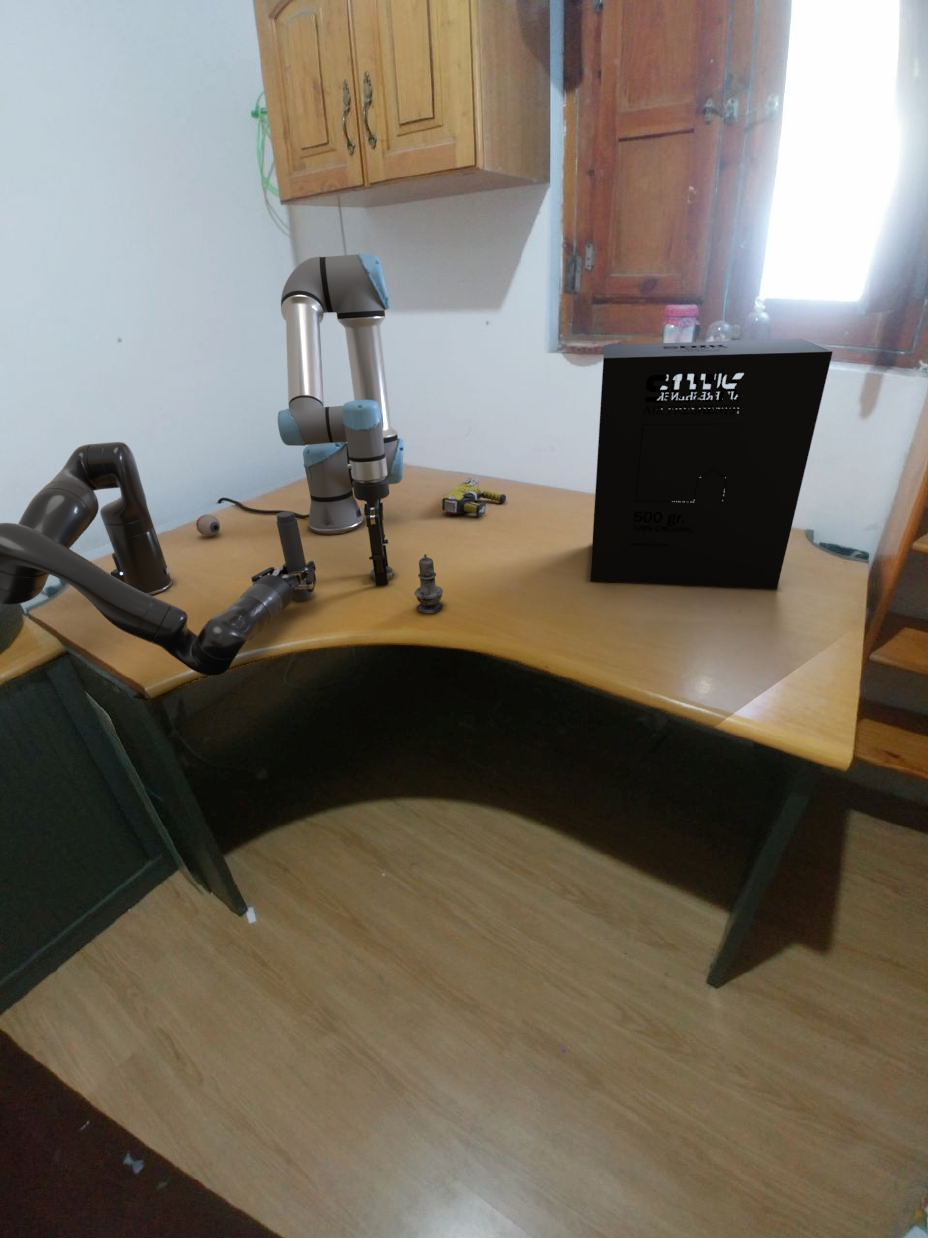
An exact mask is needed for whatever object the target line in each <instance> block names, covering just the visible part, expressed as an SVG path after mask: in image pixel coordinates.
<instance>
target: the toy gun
mask: <svg viewBox="0 0 928 1238" xmlns="http://www.w3.org/2000/svg"><path fill="white" fill-rule="evenodd" d="M477 485H479V479H478V478H474V479H473V477H469V478H467V480H466V481H464V482H462V483H460V484H459V485H458V486H456V488H454V489H453V490H451V491H450V492H449V493H448V494H446V495H445V496H444V497H443V498H442V499H441V510H442V511H443V512H444V513H446V514H448V515H453V514H457V515H458V514H462V513H471V514H475V515H476V518H480V517H482V516H483V515H485V514H486V504H487V503H486V502H484V501H482V502H480V501H479V500H480V499H481V498H483V499H485V500H486V499H487V500H491V501H494V502H498V503H501V504H503V503H505V502H506V500H507V495H505V494H504V493H498V492H497V493H496V492H492V491H488V490H483V491H482V492H481V490H480V488H479V486H477Z"/></svg>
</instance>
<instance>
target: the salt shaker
mask: <svg viewBox="0 0 928 1238" xmlns="http://www.w3.org/2000/svg"><path fill="white" fill-rule="evenodd" d="M418 569H419V572H418V575H417V577H418V578H419V583H420V586H419V587H418V588H416V589H415V590H414V594H413V595H414V597H415V598H416V600H417V602H418V603H419V604H418V605H417V610H418V612H420V613H423V614H434V613H437V612H440V611H441V610H442V609H443V608H444V607H443V606H444V605H443V603H442V602H440V601H441V599H442V596H443V594H444V589H443V588H442V587H440V586H439V585H437V584H436V576H437V572H435V567H434V560H433V559H432V558H431V557H428V554H426V553H424V555H423V557H422V558H420V559H419V560H418Z"/></svg>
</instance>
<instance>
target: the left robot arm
mask: <svg viewBox="0 0 928 1238" xmlns="http://www.w3.org/2000/svg"><path fill="white" fill-rule="evenodd" d="M141 480H142V479H141V476H140V472H139V468H138V465H137V461H136V458H135V456H134V453H133V451H132V449H131V448H130V446H128V445H127V443H125V442H123V441H111V442H99V443H88V444H83V445H81V446H78V447H77V448H76V449H75V450H74V451H73V452H72V453H71V455H70V456H69V458H68V459H67V461H66V463H65V464H64V465H63V467H62V469H61V470H60V471H59V472H58V473H57V474H56V475H55V476H54V477H53V478H52V479H51V481H49V482H48V483H47V484H45V486H43V488H41V489H40V490H39V491H38V492H37V493H36V494H35V495H34V496H33V497H32V499H31V501H30V502H29V503H28V505H27V507H26V509H25V510H24V512H23V513H22V515H21V517H20V519H19V521H18V523H16V522H15V523H14V522H0V605H7V606H9V605H10V606H12V605H19V604H24V603H27V602H30V601H31V600H33V599H35V598H36V597H37V596H39V595H40V594H42V591H43V590H44V588H45V586H46V583H47V581H48V579H49V576H53V577H55V578H57V579H59V580H61V581H63V582H65V583H67V584H68V585H69V586H71V587H73V588H74V589H75V590H77V592H79V593H80V594H81V595H82V596H83V597H85V599H87V600H88V601H89V602H90V603H91V604H92V605H93V607H94V608H95V609H96V610H97V611H98V612H99V613H100V614H101V615H102V616H103V617H104V618H105V619H106V620H107V621H109V622H110V623H111V624H112V625H113V626H114V627H115V628H117V629H118V630H121V631H123V632H125V633H126V634H128V635H130V636H134V637H136V638H138V639H140V640H143V641H146V642H147V643H152V644H153V645H155V646H158V647H160V648H161V649H162V650H164V651H165V652H167V653H168V654H169V655H170V656H172V657H173V658H175V659H176V660H177V661H179V662H180V663H182V664H183V665H185V667H187V668H189V669H190V670H192V671H194V672H196V673H198V674H200V675H205V676H221V675H222V674H224V673H226V672H227V671H228V670H229V669H230V667H231V665H232V664H233V663H234V661H235V660H236V658H237V656H238V654H239V653H240V651H241V649H242V648H243V647H244V645H246V643H247V642H250V641H253V639H255V638H256V637H257V636H258V635H259V634H260V633H262V631H263V630H264V629H265V628H266V627H267V626H268V625H270V624H271V623H273V622H274V621H275V620H276V619H277V618H278V616H280V614H282V612H283V611H284V610H285V609H286V608H287V607H288V606H289V605H290V604H291V602H292V600H293V595H294V594H295V593H298V592H299V591H300V590H301V589H307V591H308V592H312V593H313V592H314V590H315V587H316V583H317V576H316V571H317V567H316V563H315V561H314V560H309V561H308V562H307V563H306V565H305V566H304V567H303V568H302V569H301V570H299V571H298V570H295V571H293V572H291V573H290V574H288V573H287V568H286V564H285V563H283V565H279V566H278V567H276V568H275V567H274V566H270V567H268V568H266V569H264V570H262V571H260V572H258V573H257V574H255V575H253V576H251V577H250V579H251V584H252V585H251V586H249V587H248V588H247V589H246V590H245V591H244V592H243V593H242V594H241V595H240V597H239V598H238V599H237V600H236V601H235V602H234V603H232V605H231V606H230V607H228V608H227V609H225V610H223V611H221V612H220V613H217V614H216V615H214V616H213V617H211V618H210V619H209V620H208V621H207V622H206V623H205V624H204V625H203V626H202V628H201V629H200V632H199V634H198V635H197V634H196V633H195V632H194V631H192V630H191V629H190V628H189V627H188V619H189V616H188V614H187V612H186V611H184V610H183V609H181V608H180V607H178V606H175V605H172V604H171V603H169V602H166V601H164V600H162V599H160V598H157V597H154V596H153V595H157V594H159V593H163V592H164V591H166V590H168V589H169V588H170V587H171V586H172V585H173V579H172V577H171V574H170V566H169V564H167V562H166V559H165V556H164V552H163V550H162V547H161V544H160V541H159V537H158V535H157V532H156V528H155V526H154V523H153V519H152V516H151V513H150V510H149V507H148V503H147V497H146V494H145V490H144V487H143V483H142V481H141ZM110 489H119V491H120V497H118V498H117V499H114V500H113V501H110V502H108V503H106V504H105V505H103V506H102V507H101V508H100V510H99V507H100V505H99V499H98V496H97V494H96V493H95V491H99V490H100V491H101V490H110ZM98 513H100V518H101V520H102V522H103V525H104V528H105V531H106V533H107V535H108V539H109V541H110V544H111V546H112V549H113V553H112V554H111V557H112V559H113V562H114V565H115V569H113V570H111V571H110V573H109V572H108V571H106V570H105V569H102V568H101V567H99V566H98V565H96V564H95V563H93V562H92V561H90V560H88V559H87V558H85V557H84V556H82V555H80V554H79V553H77V552H76V551H74V550H72V549H71V548H72V546H73V545H74V544H75V543H76V542H77V541H78V539H80V537H81V536H82V535H83V534H84V533H85V532H86V530H88V528H89V527H90V525H91V524H92V523H93V522H94V521H95V519H96V517H97V516H98ZM302 574H303V576H304V577H303V578H302Z"/></svg>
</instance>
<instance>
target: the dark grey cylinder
mask: <svg viewBox="0 0 928 1238" xmlns="http://www.w3.org/2000/svg"><path fill="white" fill-rule="evenodd" d="M294 513H295V512H294V511H292V510H284V512H280V513H278V514H276V516H275V517H276V527H277V531H278V536H279V540H280V544H281V549H282V554H283V558H284V564H286V568H287V573H288V574H290V573H291V572H293V571H295V570H298V571H299V570H301V569H302V568H303V567H304V566H305V565H306V564H307V563H306V558H305V552H304V548H303V543H302V538H301V533H300V527H299V522H298V517H296V516H295V514H294ZM303 577H304V576H303V574H302V578H303ZM312 598H313V592H308V591H307V589H301V590H300V591H299V592H298V593H295V594H294V595H293V597H292V600H293V601H294V602H299V603H300V602H305V601H308V600H310V599H312Z"/></svg>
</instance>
